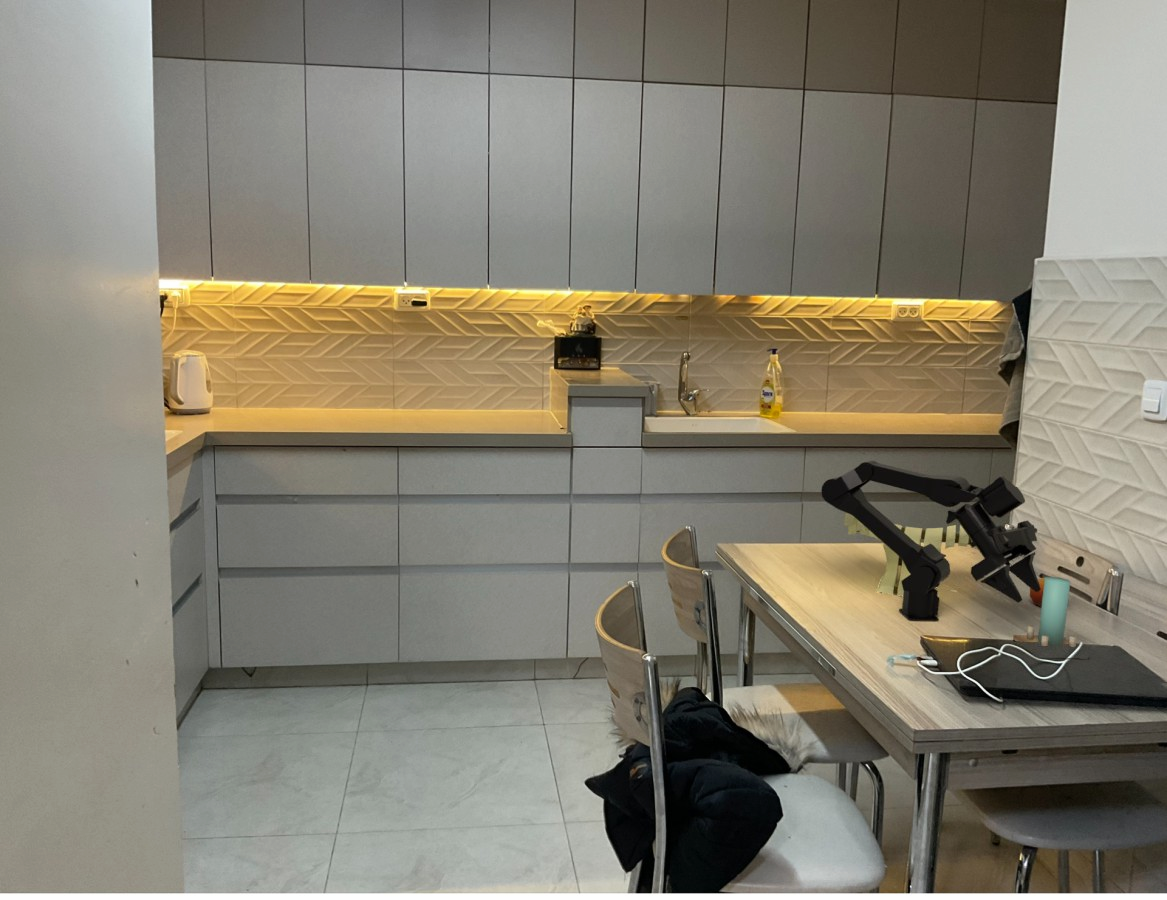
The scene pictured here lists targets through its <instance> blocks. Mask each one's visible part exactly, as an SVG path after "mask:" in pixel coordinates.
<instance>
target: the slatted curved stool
mask: <svg viewBox="0 0 1167 900" xmlns="http://www.w3.org/2000/svg"><path fill="white" fill-rule="evenodd" d="M844 513H845V514H844V523H843V525H844V526H846V527H847V528H848V530H847V532H848V533H847V535H849V536H850V535H856V534H857V533H858V532H859V535H864V536H868V537H871V538H873V539H876V540H877V541H879V542H880V543H881V542H882V541H881V540H880V539H879V538H878V537H876V536H875V535H874V534H873V533H872V532H871V531H870V530H869V529H867V528H866V527H865V526H864V525H863V524H862V523H861V522H859V521H858V520H857V519H856V518H855V517H854V516H852V515H851V514H848V513H846V512H844ZM894 524H895V525H896V526H897V527H898V528H899V529H900V530H902V531H903V532H904V533H905V534H906V535H907V536H908V537H910V538H911V539H912V540H913V541H914V542H915V543H917V544H919V545H921V546H923V547H924V546H927V545H929V544H932V545H934V546H935V548H936V549H937V550H938V551H939V552H941V553H942V551H941V550H942V545H943V544H942V542H944V543H945V548H944V549H945V550H947V549H949V548H954V547H955V545H956V544H958V547H968V545H969V546H970V543H971V542H972V540H971V539H970V537H969V536H968V535H967V533H966V532H965V530H964V529H963V528H962V526H961V525H960V524H959V533H956V532H957V531H956V530H957V529H956V528H957V525H956V524H955V525H949V526H947V527H946V532H943V530H944V527H934V528H933V527H931V528H929V527H928V528H925V529H923V527H921V528H920V527H912V526H905V527H903V526H902V525H900V524H897V523H894ZM922 540H923V545H922ZM882 543H883V542H882ZM882 547H883V550H884V553H885V557H886V568H885V571H884V573H883V575H882V576H881V578H880V579H881V581H880V580H879V582H880V584H879V583H878V585H879V587H878V586H877V589H878V590H877V589H876V592H882V593H881V594H884V593H889V594H888V595H891V594H893V593H895V594H893V595H897V596H898V595H903V594H904V590H903V586H902V582H901V581H902V580H903V579H905V578H906V577H908V576H909V575H911V574H910V573H909V572H908V570H907V568H906V566H905V564H904V562H903V560H902V559H901V558H900V557H899V556H898V555H897V554H896V553H895V552H894V551H892V550H891V549H890V548H889V547H888V546H887V545H886V544H884V543H883V544H882ZM970 548H972V547H971V546H970ZM972 549H975V550H978V549H977V547H976V546H975V547H973V548H972ZM978 551H979V550H978ZM899 566H900V567H901V569H900V570H901V571H900V575H899V576H900V577H899V581H898V572H899ZM897 581H898V584H897ZM896 585H898V586H896ZM934 589H936V588H934Z"/></svg>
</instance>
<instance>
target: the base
mask: <svg viewBox="0 0 1167 900" xmlns="http://www.w3.org/2000/svg"><path fill="white" fill-rule="evenodd" d="M1034 634H1035V626H1033V625H1027V631H1026V634H1013V635H1012V637H1013V638H1012V641H1013V640H1015V641H1020V642H1038V634H1035V635H1034ZM1048 639H1049V636H1046V635H1042V640H1041V645H1042V646H1048ZM1063 644H1069V646H1071V647H1075V646H1076V645H1077V636H1074V635H1070V636H1069V639H1067V638H1065V637H1064V640H1063Z"/></svg>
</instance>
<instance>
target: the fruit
mask: <svg viewBox="0 0 1167 900" xmlns="http://www.w3.org/2000/svg"><path fill="white" fill-rule="evenodd" d="M1045 577H1046V576H1044V577H1041V578H1037V579H1038V582H1039V585H1040V588H1041V590H1040V591H1038V592H1035V591H1034V590H1033V589H1031V588H1030V587H1029V597H1030V599H1031V601H1032V603H1034V605H1036V606H1037V607H1039V606H1040V608H1041V607H1042V599H1043V590H1044V581H1045Z"/></svg>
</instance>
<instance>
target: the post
mask: <svg viewBox="0 0 1167 900" xmlns="http://www.w3.org/2000/svg"><path fill="white" fill-rule="evenodd" d="M1044 577H1045V581H1044V590H1043V599H1042V607H1040V608H1041V609H1040V616H1039V617H1040V619H1039V627H1038V633H1037V635H1038V643H1041V640H1042V635H1046V636H1049V639H1048V644H1051V645H1063V640H1064V638H1065V629H1066V621H1067V611H1068V605H1069V598H1070V587H1071V581H1070V580H1069V579H1067V578H1064V577H1058V576H1044Z"/></svg>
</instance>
